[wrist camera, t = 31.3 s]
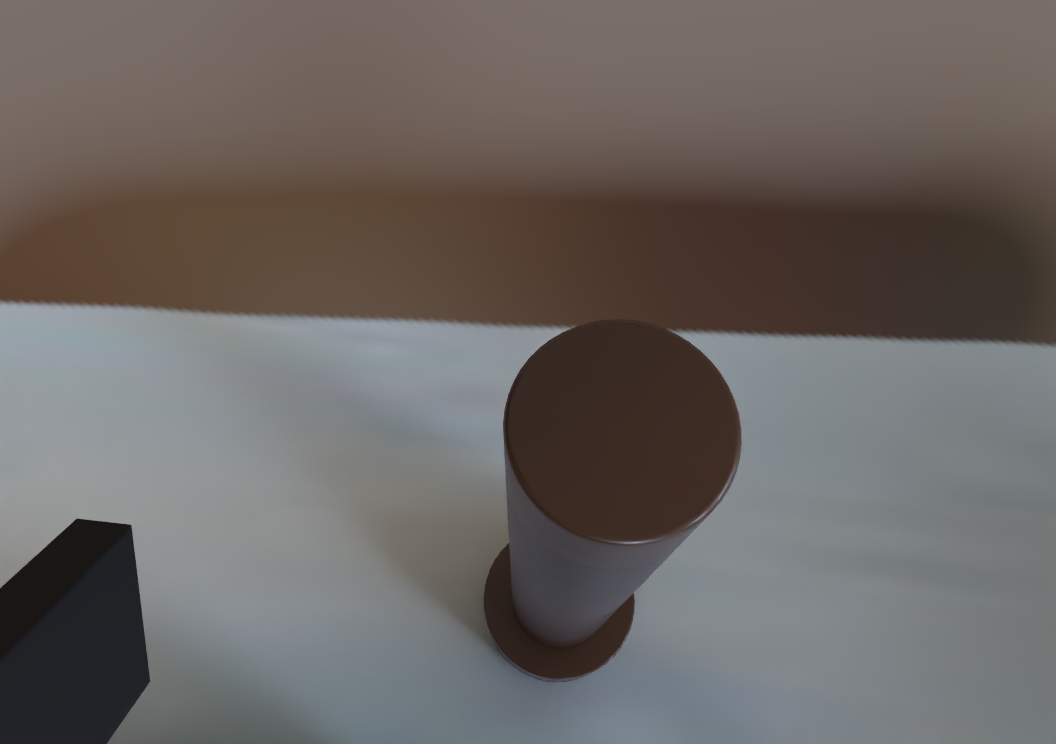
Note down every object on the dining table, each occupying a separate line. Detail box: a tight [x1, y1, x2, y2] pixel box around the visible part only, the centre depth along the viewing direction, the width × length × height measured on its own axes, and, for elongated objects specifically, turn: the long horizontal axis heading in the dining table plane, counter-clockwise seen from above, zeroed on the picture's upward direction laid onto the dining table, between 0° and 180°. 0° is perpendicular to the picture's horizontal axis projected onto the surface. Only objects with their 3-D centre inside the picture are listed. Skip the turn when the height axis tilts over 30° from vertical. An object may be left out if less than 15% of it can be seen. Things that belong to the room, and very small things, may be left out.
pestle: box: [484, 320, 741, 682], centre depth 16 cm, size 4×4×16 cm
